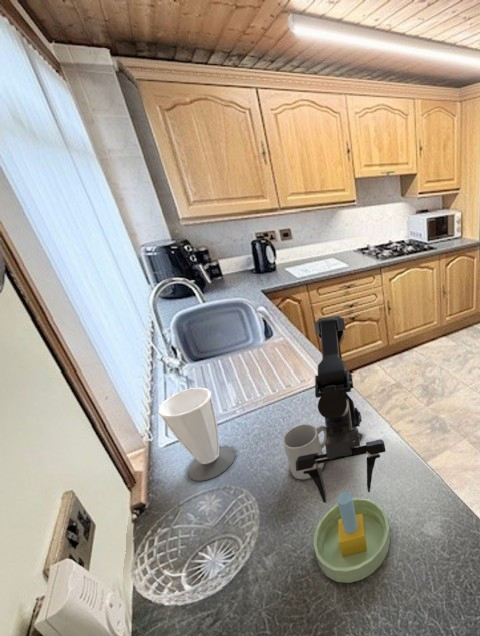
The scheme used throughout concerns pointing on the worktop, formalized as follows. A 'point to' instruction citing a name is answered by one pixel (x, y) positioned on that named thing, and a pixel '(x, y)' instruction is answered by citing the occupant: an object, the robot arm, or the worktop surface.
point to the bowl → (361, 562)
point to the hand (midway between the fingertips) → (347, 497)
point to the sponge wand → (350, 527)
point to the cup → (197, 431)
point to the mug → (303, 445)
